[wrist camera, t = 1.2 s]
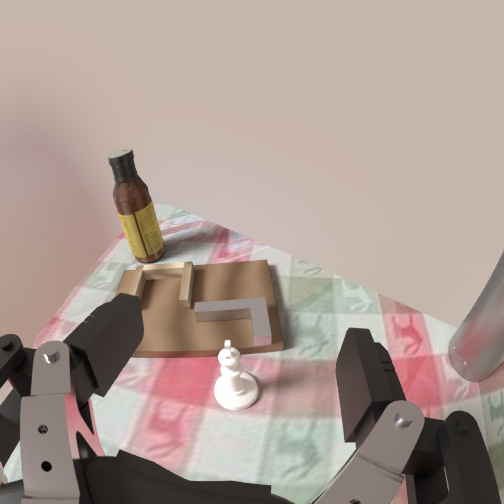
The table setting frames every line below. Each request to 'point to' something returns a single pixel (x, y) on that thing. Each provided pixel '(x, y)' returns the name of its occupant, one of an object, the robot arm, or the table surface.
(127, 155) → the sauce bottle
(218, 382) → the chess piece
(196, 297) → the socket board
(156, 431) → the table surface
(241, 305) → the keeper bolt
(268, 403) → the table surface
